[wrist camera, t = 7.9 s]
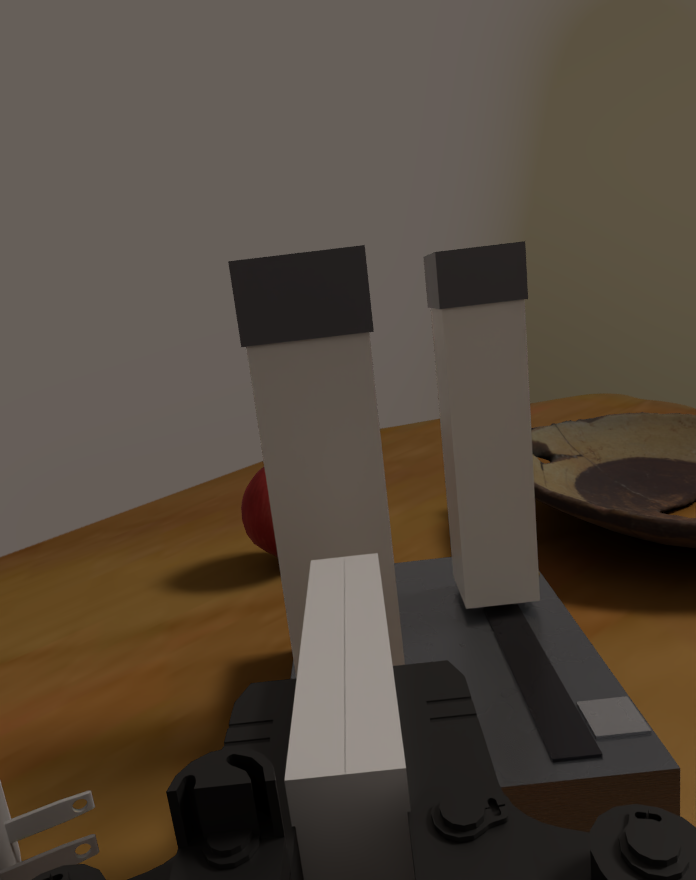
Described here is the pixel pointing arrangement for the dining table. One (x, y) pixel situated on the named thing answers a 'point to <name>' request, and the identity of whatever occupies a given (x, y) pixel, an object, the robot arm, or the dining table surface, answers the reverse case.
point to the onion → (259, 514)
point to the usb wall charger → (3, 872)
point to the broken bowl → (621, 473)
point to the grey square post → (317, 417)
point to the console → (538, 700)
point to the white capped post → (485, 420)
